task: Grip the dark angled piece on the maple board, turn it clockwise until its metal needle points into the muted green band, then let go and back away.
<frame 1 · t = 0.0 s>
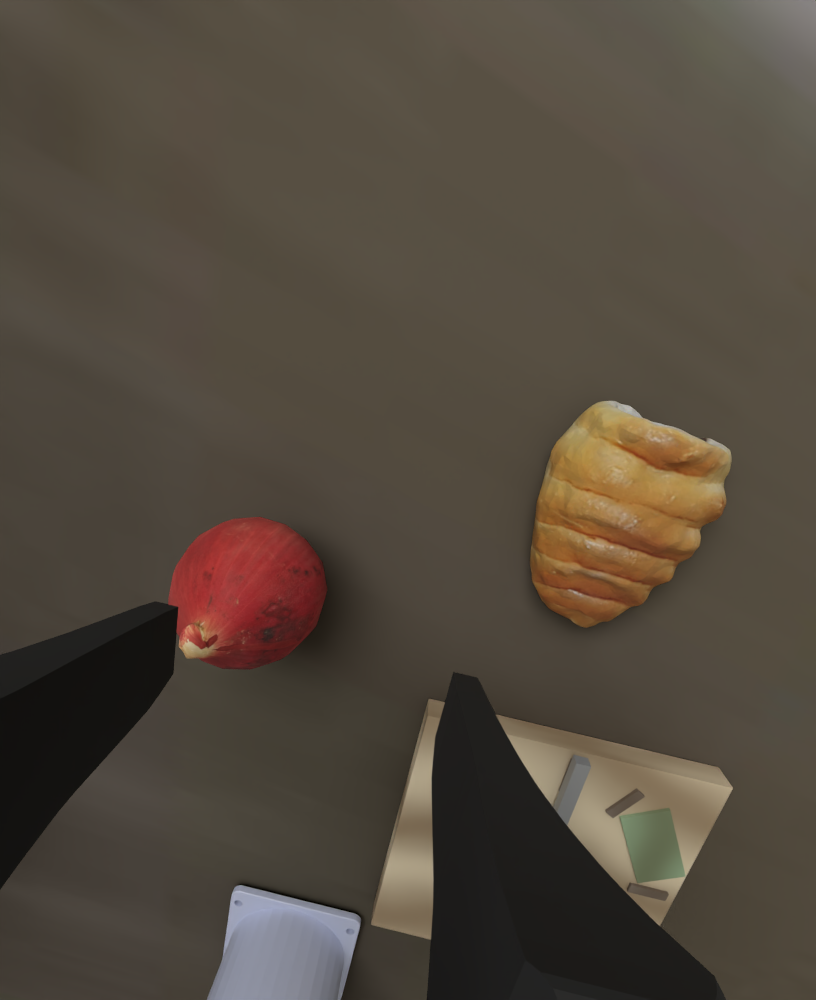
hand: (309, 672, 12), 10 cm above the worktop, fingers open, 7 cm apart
pastry: (609, 500, 20), on the worktop
onion: (284, 553, 22), on the worktop
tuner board: (531, 840, 25), on the worktop
dark angled piece: (561, 879, 21), point 4 cm above the worktop, hinge at 0.0°
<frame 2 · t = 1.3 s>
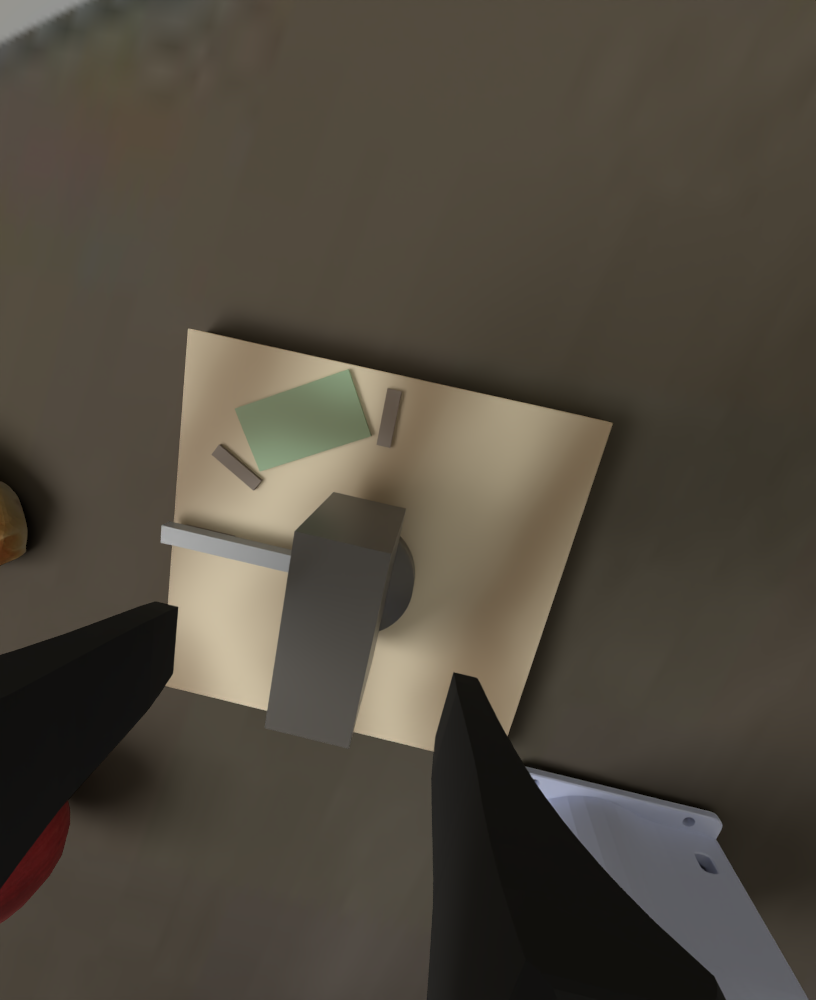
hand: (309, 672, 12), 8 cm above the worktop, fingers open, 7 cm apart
onion: (58, 774, 24), on the worktop
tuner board: (364, 558, 19), on the worktop
dark angled piece: (267, 584, 15), point 4 cm above the worktop, hinge at 0.0°
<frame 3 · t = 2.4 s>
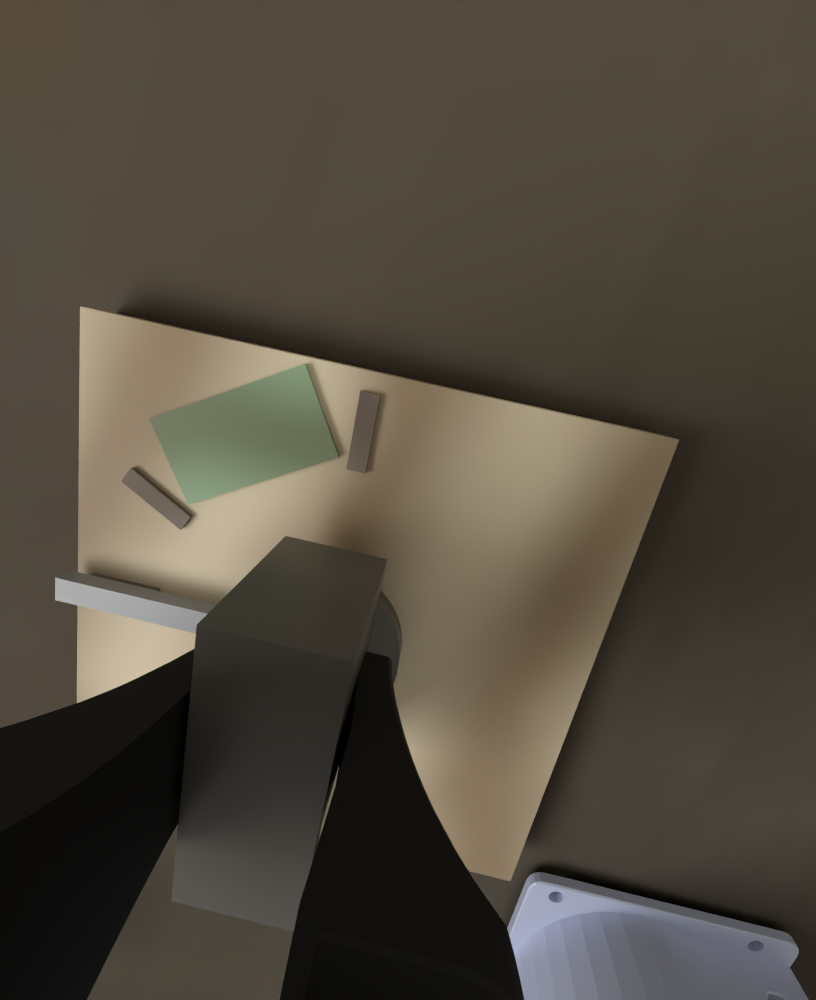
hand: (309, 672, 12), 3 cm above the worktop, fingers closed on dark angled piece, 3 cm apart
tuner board: (336, 614, 14), on the worktop
dark angled piece: (189, 670, 11), point 4 cm above the worktop, hinge at 0.0°, touching gripper
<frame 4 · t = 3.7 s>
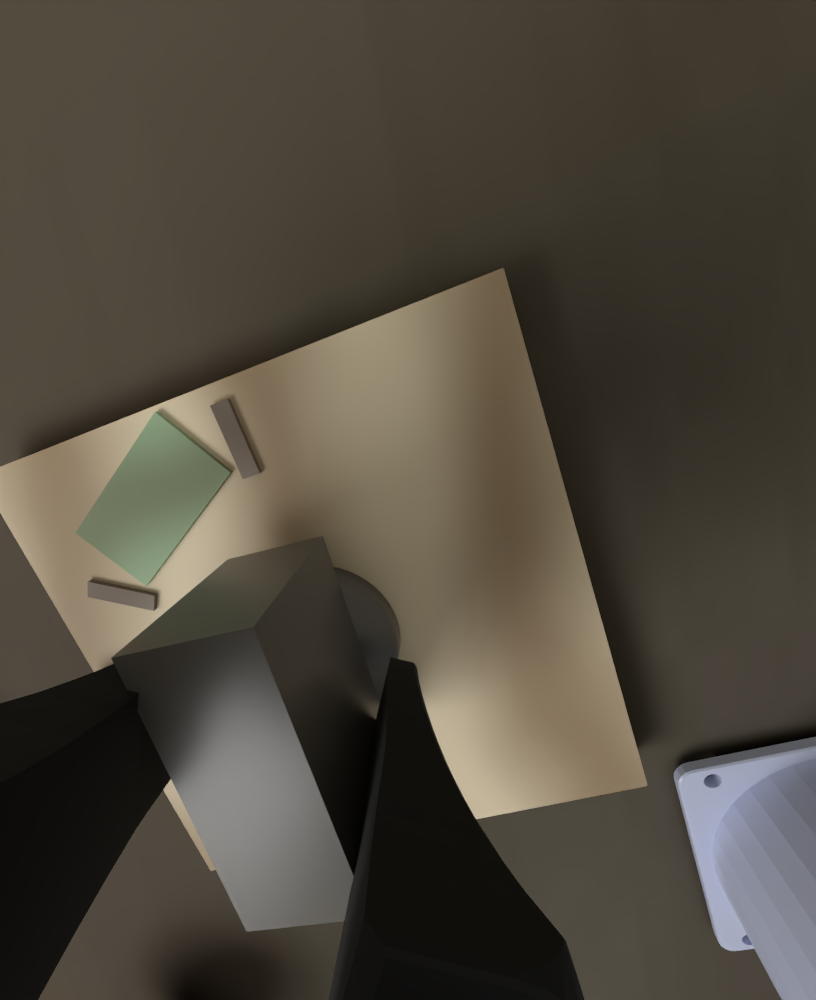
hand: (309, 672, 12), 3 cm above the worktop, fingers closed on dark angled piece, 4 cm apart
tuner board: (334, 614, 14), on the worktop
dark angled piece: (194, 716, 11), point 4 cm above the worktop, hinge at -3.9°, touching gripper
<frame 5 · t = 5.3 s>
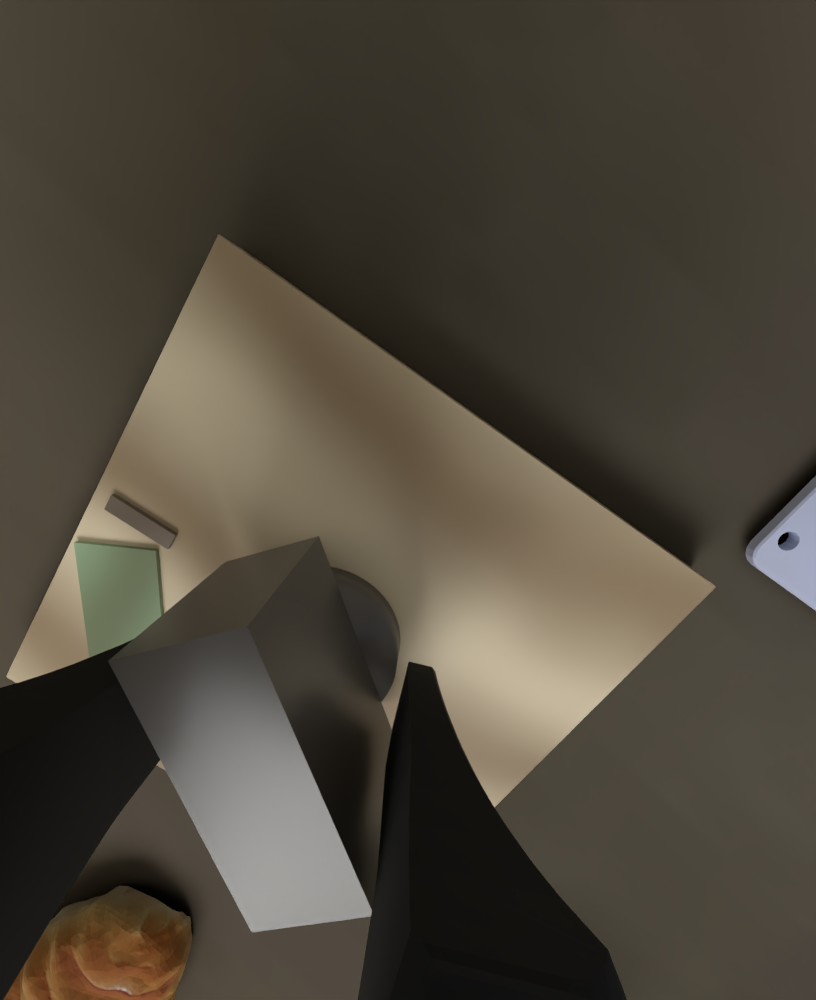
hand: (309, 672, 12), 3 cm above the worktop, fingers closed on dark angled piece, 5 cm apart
pastry: (114, 940, 20), on the worktop
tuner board: (334, 615, 14), on the worktop
dark angled piece: (196, 719, 11), point 4 cm above the worktop, hinge at -38.5°, touching gripper
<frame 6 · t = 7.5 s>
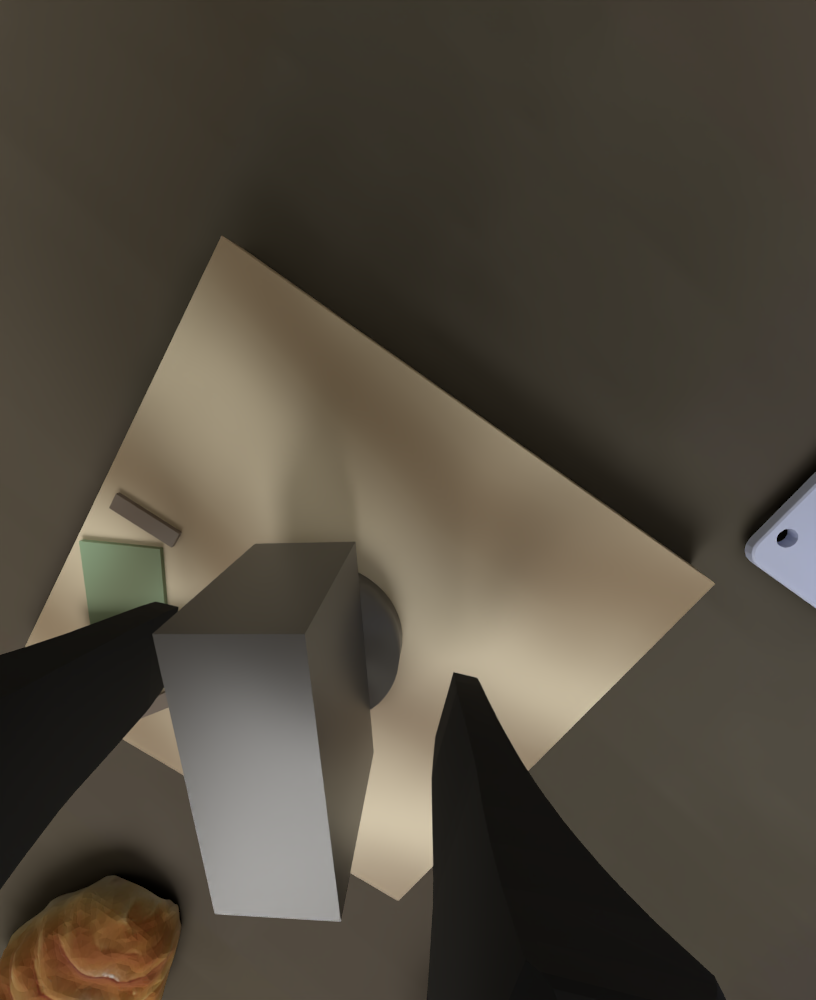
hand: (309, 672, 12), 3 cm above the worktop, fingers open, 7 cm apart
pastry: (105, 931, 20), on the worktop
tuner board: (336, 612, 14), on the worktop
dark angled piece: (192, 692, 11), point 4 cm above the worktop, hinge at -53.0°
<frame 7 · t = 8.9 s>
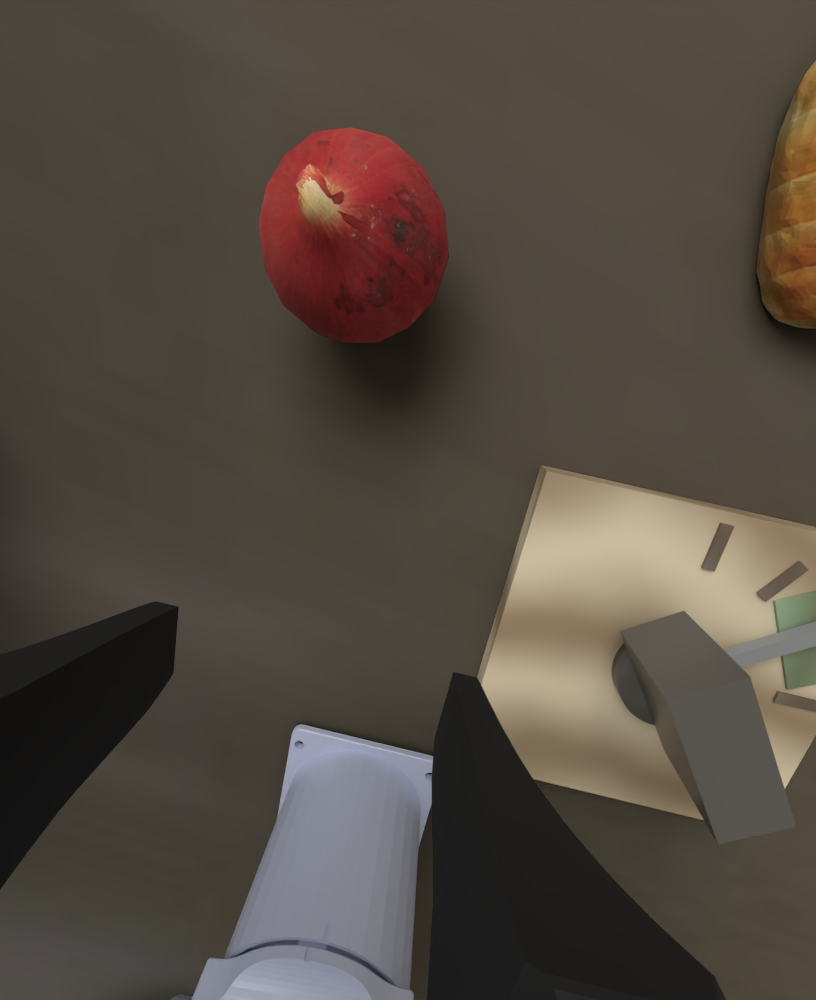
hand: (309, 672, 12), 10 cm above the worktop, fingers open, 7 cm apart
onion: (375, 273, 18), on the worktop
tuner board: (651, 653, 21), on the worktop
dark angled piece: (764, 690, 17), point 4 cm above the worktop, hinge at -54.0°
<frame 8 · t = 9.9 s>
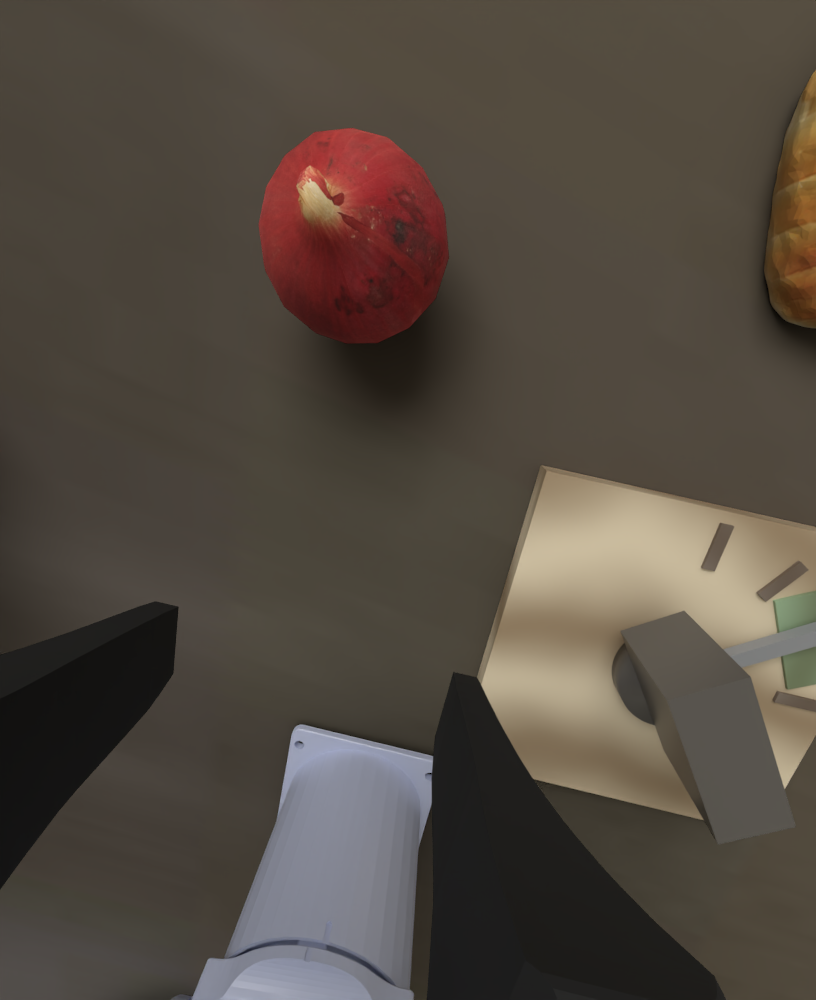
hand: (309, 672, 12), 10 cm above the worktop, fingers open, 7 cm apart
onion: (375, 273, 18), on the worktop
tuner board: (651, 653, 21), on the worktop
dark angled piece: (764, 690, 17), point 4 cm above the worktop, hinge at -54.2°
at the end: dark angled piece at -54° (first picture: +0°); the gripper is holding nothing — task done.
